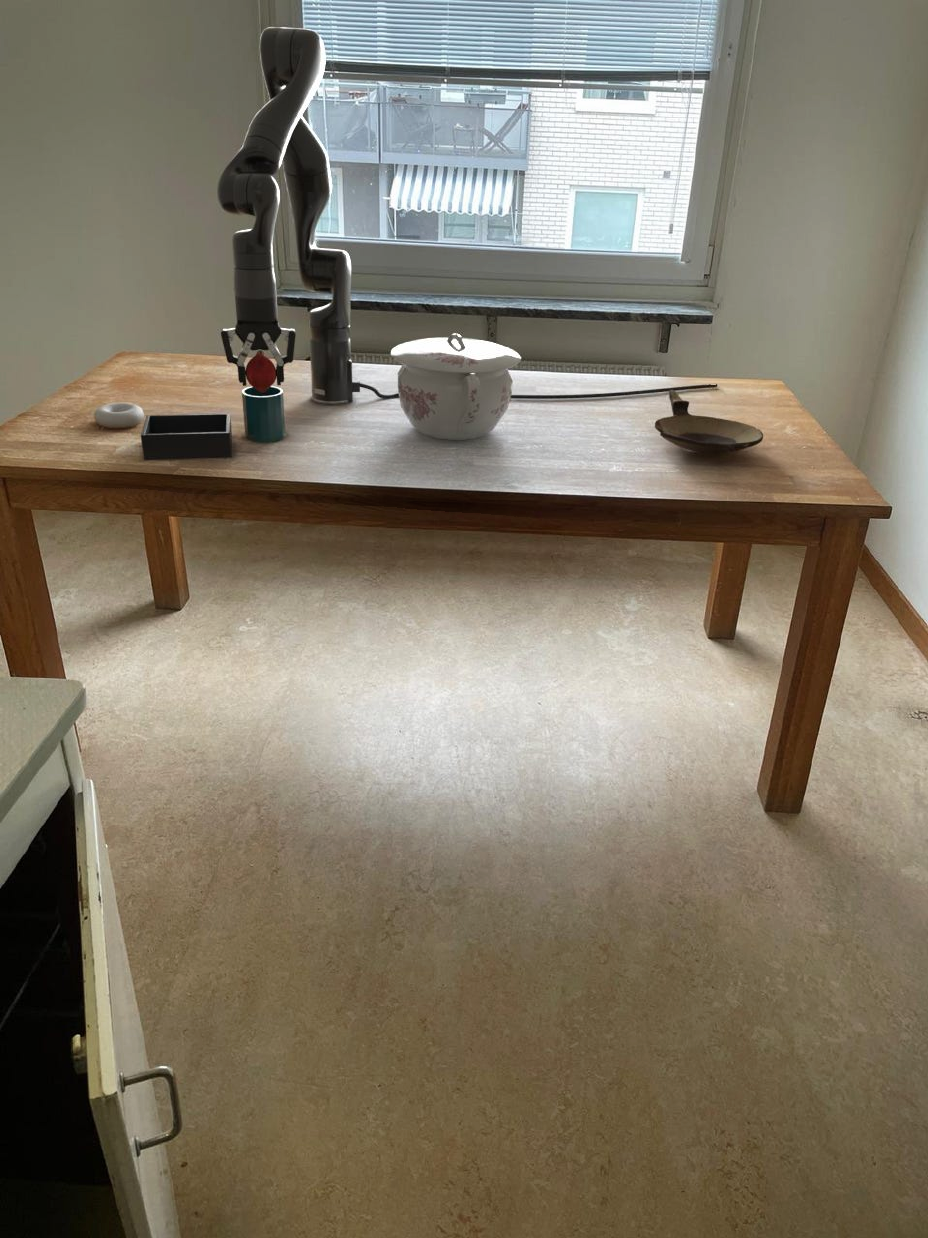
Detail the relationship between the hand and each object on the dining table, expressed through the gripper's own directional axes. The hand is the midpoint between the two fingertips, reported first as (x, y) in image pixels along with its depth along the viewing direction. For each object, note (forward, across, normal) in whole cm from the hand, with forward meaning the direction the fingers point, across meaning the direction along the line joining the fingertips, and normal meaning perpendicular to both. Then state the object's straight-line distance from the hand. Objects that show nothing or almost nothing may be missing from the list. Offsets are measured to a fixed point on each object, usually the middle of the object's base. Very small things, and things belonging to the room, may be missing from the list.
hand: (262, 384), depth 172 cm
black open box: (+14, -15, +4) cm, 21 cm away
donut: (+14, -30, +21) cm, 39 cm away
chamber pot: (+14, +40, +10) cm, 43 cm away
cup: (+14, 0, +10) cm, 17 cm away
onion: (+2, 0, 0) cm, 2 cm away
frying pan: (+14, +93, -4) cm, 94 cm away
